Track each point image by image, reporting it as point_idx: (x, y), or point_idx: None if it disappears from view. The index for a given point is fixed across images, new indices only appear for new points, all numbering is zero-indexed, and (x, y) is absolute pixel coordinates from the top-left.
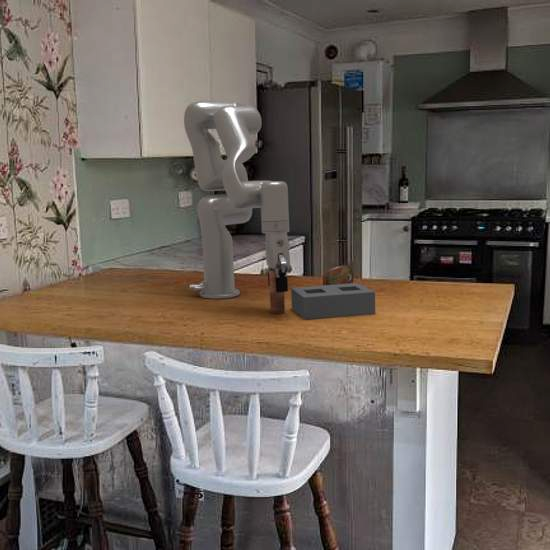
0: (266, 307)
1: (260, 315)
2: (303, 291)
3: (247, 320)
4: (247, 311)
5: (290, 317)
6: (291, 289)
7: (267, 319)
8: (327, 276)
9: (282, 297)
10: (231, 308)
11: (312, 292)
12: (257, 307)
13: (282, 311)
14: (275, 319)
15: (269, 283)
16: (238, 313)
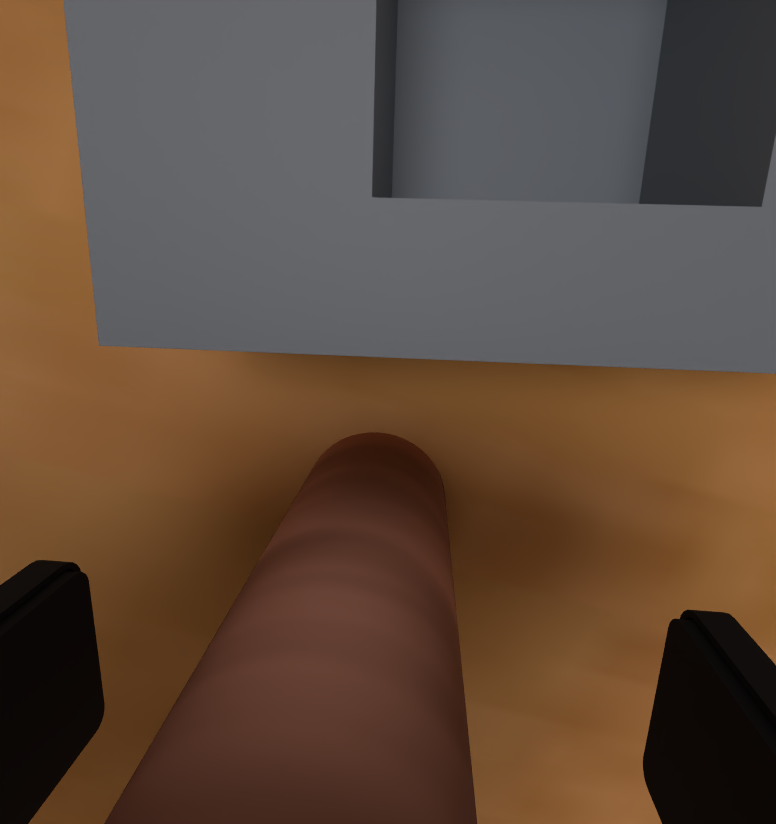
0: (118, 531)
1: None
2: (513, 225)
3: (546, 780)
4: None
5: (612, 440)
6: (141, 344)
7: (588, 642)
8: None
9: (438, 544)
10: (84, 782)
11: (380, 3)
12: (98, 600)
13: (436, 478)
14: (622, 583)
15: (75, 755)
16: None
